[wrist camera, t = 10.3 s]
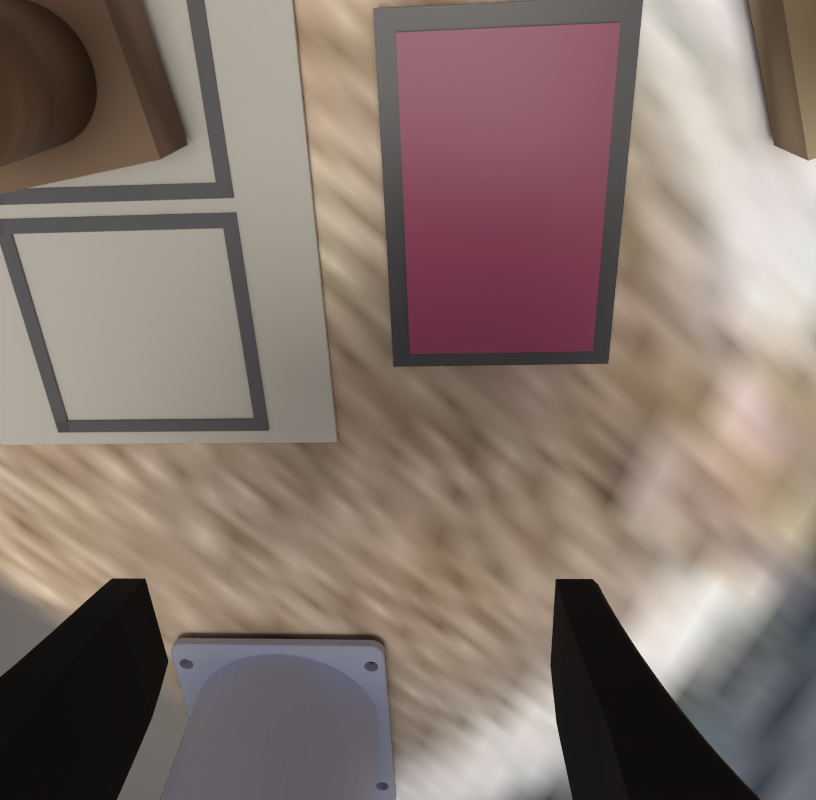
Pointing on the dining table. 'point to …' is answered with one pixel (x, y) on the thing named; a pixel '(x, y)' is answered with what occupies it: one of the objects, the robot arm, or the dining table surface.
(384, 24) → the ink pad
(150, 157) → the walnut stamp
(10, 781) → the robot arm
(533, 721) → the dining table surface
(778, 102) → the oak stamp
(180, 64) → the sheet
